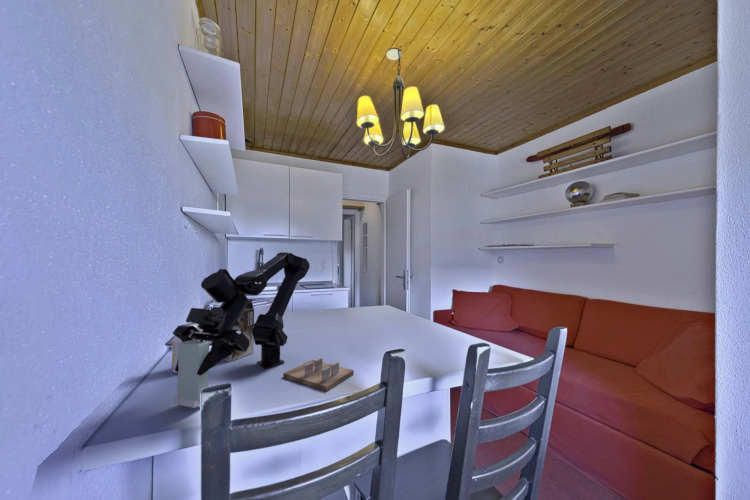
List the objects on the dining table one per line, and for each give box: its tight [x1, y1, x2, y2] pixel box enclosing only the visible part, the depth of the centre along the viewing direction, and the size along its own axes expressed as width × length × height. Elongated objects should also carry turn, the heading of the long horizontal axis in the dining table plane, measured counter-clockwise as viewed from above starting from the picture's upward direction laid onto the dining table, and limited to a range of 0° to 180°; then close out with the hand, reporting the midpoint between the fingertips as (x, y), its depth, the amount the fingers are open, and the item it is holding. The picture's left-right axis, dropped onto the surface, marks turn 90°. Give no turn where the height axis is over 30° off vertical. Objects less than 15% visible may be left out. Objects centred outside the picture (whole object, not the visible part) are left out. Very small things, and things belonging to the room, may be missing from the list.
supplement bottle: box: [171, 324, 197, 374], centre depth 81 cm, size 7×7×13 cm
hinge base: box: [282, 357, 355, 392], centre depth 77 cm, size 16×12×4 cm
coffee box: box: [222, 307, 255, 362], centre depth 92 cm, size 9×6×16 cm
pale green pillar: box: [173, 340, 210, 409], centre depth 60 cm, size 4×6×13 cm, turn 74°
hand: (187, 372), depth 59 cm, fingers closed on pale green pillar, 6 cm apart
